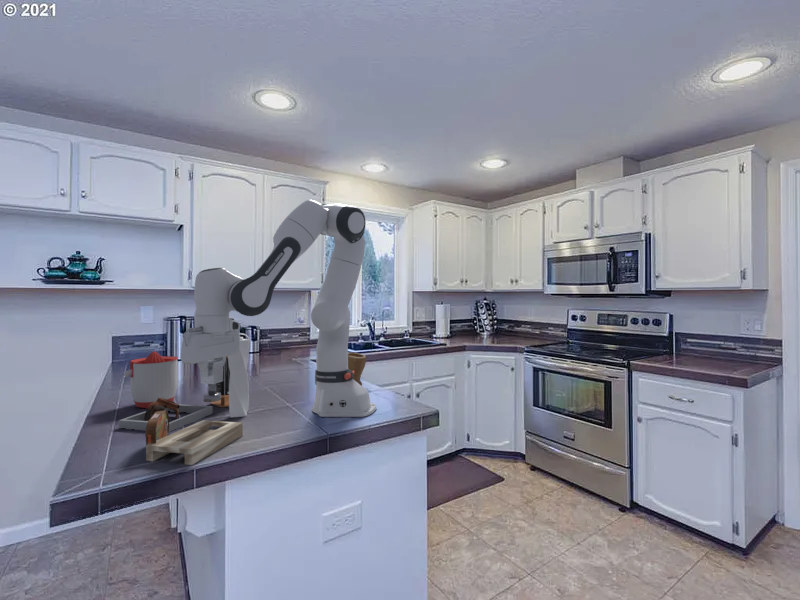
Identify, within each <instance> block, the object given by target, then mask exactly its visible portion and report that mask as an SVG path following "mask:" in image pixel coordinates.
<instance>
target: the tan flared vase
mask: <svg viewBox="0 0 800 600" xmlns="http://www.w3.org/2000/svg"><path fill="white" fill-rule="evenodd" d="M366 361H367V356H366V355H364V354H361V353H359V352H348V368H349V369H350V370H351V371H354V374H353V380H355V381H356V382H357V383H358V384H360V385H361V386H362V387H363V383H362V381H361V378H362V374H363V372H364V369H365V367H366Z"/></svg>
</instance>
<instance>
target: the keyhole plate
mask: <svg viewBox="0 0 800 600" xmlns="http://www.w3.org/2000/svg"><path fill="white" fill-rule="evenodd" d="M210 427H218V428H216V429H210ZM243 430H244V429H243V422H239V421H238V422H236V421H222V420H207V419H203V420H200V421H198V422H194V423H193V424H191V425H189V426H187V427H184V428H182V429H179V430H177V431H175V432H173V433H171V434H168V436H166V437H164V438H161V439H159V440H157V441H156V443H152V444H148V445H146V444H145V461H146V462H155V461H157V460H159V459H161V458H163V457H165V456H166V455H169V454H171V453H173V454H174V453H175V454H183V455H184V466H186V465H187V466H193V465H195V464H196V463H198V462H200V461H201V460H203V459H206V458H207V457H208V456H210V455H212V454H214V453H216V452H217V451H219V450H221V449H222V448H224V447H226V446H227V445H230V444H231V443H233V442H234V441H236V440H238V439H240V438H241V437H243V436H244V435H243V432H244V431H243Z"/></svg>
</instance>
